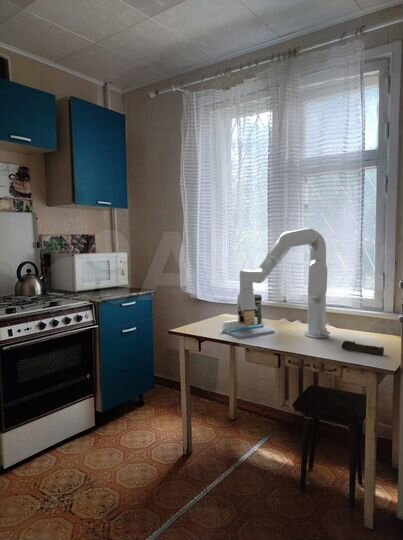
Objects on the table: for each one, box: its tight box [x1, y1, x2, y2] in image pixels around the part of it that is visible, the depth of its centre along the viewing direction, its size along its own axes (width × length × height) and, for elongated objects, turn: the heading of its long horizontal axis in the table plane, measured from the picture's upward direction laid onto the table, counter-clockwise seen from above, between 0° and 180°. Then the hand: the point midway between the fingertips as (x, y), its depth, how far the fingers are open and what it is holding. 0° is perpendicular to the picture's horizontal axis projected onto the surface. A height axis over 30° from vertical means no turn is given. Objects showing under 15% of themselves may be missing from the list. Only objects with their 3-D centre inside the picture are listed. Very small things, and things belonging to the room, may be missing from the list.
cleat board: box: [221, 317, 275, 340], centre depth 225 cm, size 18×24×6 cm
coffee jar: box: [254, 293, 263, 325], centre depth 249 cm, size 10×8×19 cm
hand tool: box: [341, 340, 385, 357], centre depth 185 cm, size 19×4×5 cm, turn 51°
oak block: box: [237, 310, 255, 326], centre depth 226 cm, size 8×6×8 cm
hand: (246, 321), depth 226 cm, fingers closed on oak block, 6 cm apart
